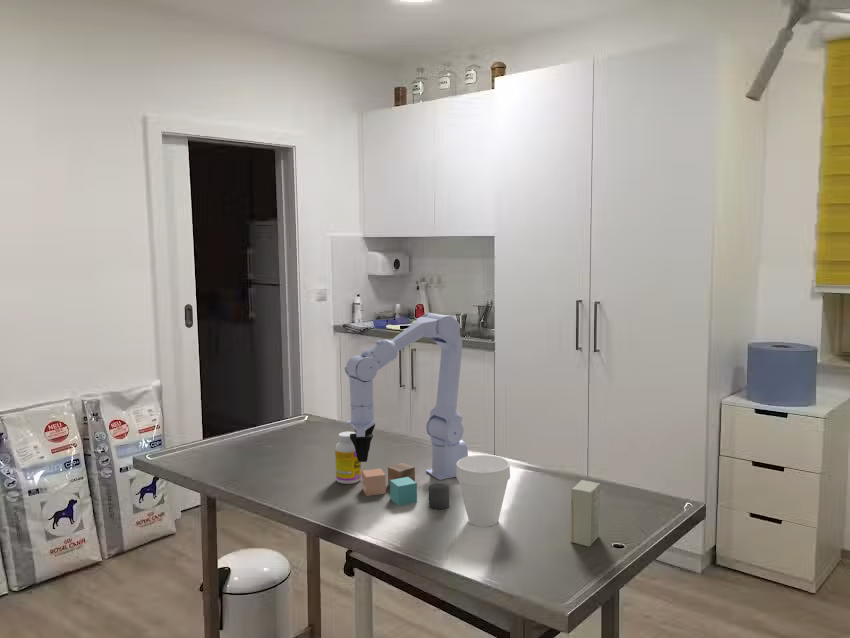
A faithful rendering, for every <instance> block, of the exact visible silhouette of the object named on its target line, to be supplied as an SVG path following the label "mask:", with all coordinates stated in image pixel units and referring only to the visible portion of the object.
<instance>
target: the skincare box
mask: <svg viewBox="0 0 850 638" xmlns="http://www.w3.org/2000/svg"><path fill="white" fill-rule="evenodd" d="M570 500H571V503H570V506H571V508H570V515H571V516H570V543H573V544H577V545H581V546H584V547H585V546H586V547H590V546H592V544H593V543H594V542H595V541H596V540H598V538H599V536H600V515H601V514H600V507H601V505H600V504H601V482H597V481H596V482H595V481H590V480H585V479H581V480H579V481H578V482H577V483H576V484H575V485H574V486H572V488H571V499H570Z"/></svg>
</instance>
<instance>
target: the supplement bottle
mask: <svg viewBox="0 0 850 638" xmlns="http://www.w3.org/2000/svg"><path fill="white" fill-rule="evenodd" d="M350 434H356V431H342V432H340V433H338V441H339V442H337V444H336V445H335V448H334V449H335V450H334V451H335V480H336V482H337V483H338V484H339V483H340V484H344V485H353V484H356V483H358V482H360V481H361V480H362V464H361V463H362V462H358V459H357V455H356V450H355V447H354V444H353V442H352V441H351V439H350Z"/></svg>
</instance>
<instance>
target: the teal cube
mask: <svg viewBox="0 0 850 638" xmlns="http://www.w3.org/2000/svg"><path fill="white" fill-rule="evenodd" d="M389 493H390V494H389V499H390V500H391V501H392V503H395V504H396V505H397V506H398V507H400V506H406V505H411V504H415V503H417V502H418V483H417V482H416V480H415V481H413V480H412V479H411V478H409V477H404V478H399V479H393V480H390V486H389Z"/></svg>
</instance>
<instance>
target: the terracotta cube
mask: <svg viewBox="0 0 850 638" xmlns="http://www.w3.org/2000/svg"><path fill="white" fill-rule="evenodd" d="M361 480H362V481H361V484H362V486H361V487H362V490H363V492H364V494H365V496H368V497H369V496H376V495H385V494H386V493H387V492H386V490H387V489H386V488H387V486H386V485H387V483H386V474H385V472H384V471H383V470H382V468H375V469H367V470H366V469H364V470H361Z"/></svg>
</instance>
